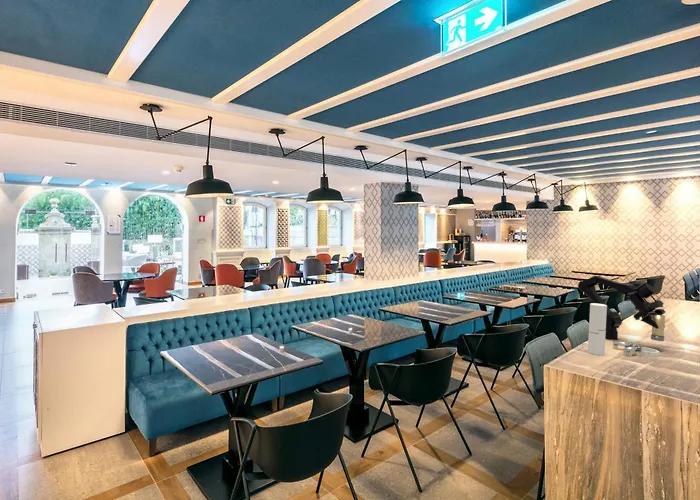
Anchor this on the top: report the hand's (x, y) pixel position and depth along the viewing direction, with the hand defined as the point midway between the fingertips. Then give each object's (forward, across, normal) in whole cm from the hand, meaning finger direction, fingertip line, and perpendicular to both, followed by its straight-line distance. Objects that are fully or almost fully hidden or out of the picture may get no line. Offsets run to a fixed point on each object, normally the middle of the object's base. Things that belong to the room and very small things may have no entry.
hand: (661, 327), depth 202 cm
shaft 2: (+9, -22, +9) cm, 26 cm away
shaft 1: (+3, -17, +15) cm, 23 cm away
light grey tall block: (+3, -37, +15) cm, 40 cm away
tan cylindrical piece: (+4, 0, +6) cm, 7 cm away
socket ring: (+9, -12, +8) cm, 17 cm away
